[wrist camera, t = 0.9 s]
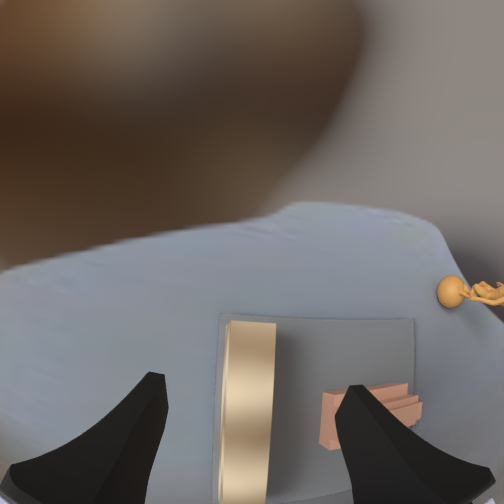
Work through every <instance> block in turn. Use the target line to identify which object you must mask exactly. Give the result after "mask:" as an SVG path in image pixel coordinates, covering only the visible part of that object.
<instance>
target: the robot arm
mask: <svg viewBox="0 0 504 504" xmlns="http://www.w3.org/2000/svg"><path fill="white" fill-rule="evenodd" d="M168 408H169V407H168V399H167V392H166V383H165V375H164V374H159V373H154V372H148V373H147V374H146V375H145V376H144V377H143V378H142V380H141V381H140V382H139V383H138V384H137V385H136V386H135V387H134V389H133V390H132V391H131V392H130V393H129V394H128V395H127V396H126V397H125V398H124V399H123V400H122V401H121V402H120V403H119V404H118V405H117V406H116V407H115V408H114V409H113V410H112V411H110V412H109V413H108V414H107V415H106V416H105V417H104V418H102V419H101V420H100V421H99V422H98V423H96V424H95V425H94V426H92V427H91V428H90V429H88V430H87V431H86V432H84V433H83V434H81V435H80V436H78V437H77V438H75V439H73V440H72V441H70V442H68V443H67V444H65V445H63V446H61V447H59V448H57V449H55V450H53V451H50V452H48V453H46V454H44V455H41V456H39V457H36V458H33V459H30V460H27V461H23V462H20V463H16V464H12V465H11V466H10V467H9V469H8V470H7V472H6V474H5V476H4V478H3V480H2V482H1V485H0V491H1V492H3V493H4V494H5V495H7V496H8V497H9V498H11V499H12V500H13V501H15V502H16V503H17V504H145V497H146V491H147V485H148V480H149V476H150V472H151V469H152V465H153V462H154V459H155V456H156V453H157V450H158V447H159V444H160V441H161V438H162V435H163V432H164V428H165V423H166V419H167V413H168ZM334 417H335V425H336V431H337V437H338V440H339V444H340V447H341V450H342V454H343V457H344V460H345V463H346V467H347V470H348V473H349V476H350V481H351V485H352V492H353V499H354V504H472V502H471V501H473V500H474V499H476V498H477V497H478V496H480V495H481V494H482V493H484V492H485V491H486V490H487V489H489V488H490V487H491V486H492V485H493V484H494V483H495V482H496V480H495V478H494V476H493V474H492V473H491V471H490V469H489V468H487V467H483V466H479V465H475V464H471V463H468V462H466V461H463V460H460V459H458V458H455V457H453V456H451V455H449V454H447V453H445V452H443V451H441V450H439V449H437V448H436V447H434V446H432V445H431V444H429V443H428V442H426V441H425V440H423V439H422V438H420V437H419V436H418V435H416V434H415V433H414V432H413V431H411V430H410V429H409V428H408V427H406V426H405V425H404V424H403V423H402V422H401V421H400V420H398V419H397V418H396V417H395V416H394V415H393V414H392V413H391V412H390V411H389V410H388V409H387V408H386V407H385V406H384V405H383V404H382V403H381V402H380V401H379V400H378V399H377V398H376V397H375V396H374V395H373V394H372V393H371V392H370V391H369V390H368V389H367V388H366V387H365V386H364V385H349V387H348V389H347V392H346V394H345V396H344V398H343V400H342V402H341V404H340V406H339V408H338V410H337V412H336V414H335V416H334ZM0 504H11V503H9V502H8V501H7V500H5V499H4V498H3V497H1V496H0ZM484 504H495V502H494V500H493V498H491V499H489V500H488V501H487V502H485V503H484Z"/></svg>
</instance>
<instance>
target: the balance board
mask: <svg viewBox="0 0 504 504" xmlns="http://www.w3.org/2000/svg"><path fill="white" fill-rule="evenodd" d="M231 320H233V321H246V322H261V323H276V342H275V365H274V386H273V404H272V421H271V436H270V450H269V464H268V476H267V488H266V499H265V504H277V503H286V502H294V501H300V500H306V499H312V498H317V497H322V496H327V495H332V494H336V493H340V492H344V491H348V490H351V489H352V485H351V481H350V476H349V473H348V470H347V467H346V463H345V460H344V457H343V454H342V450H341V447H340V444H339V440H338V437H337V431H336V425H335V417H334V416H335V414H336V412H337V410H338V408H339V406H340V404H341V402H342V400H343V398H344V396H345V394H346V392H347V389H348V387H349V385H364V386H365V387H366V388H367V389H368V390H369V391H370V392H371V393H372V394H373V395H374V396H375V397H376V398H377V399H378V400H379V401H380V402H381V403H382V404H383V405H384V406H385V407H386V408H387V409H388V410H389V411H390V412H391V413H392V414H393V415H394V416H395V417H396V418H397V419H398V420H400V421H401V422H402V423H403V424H404V425H405V426H406V427H408V428H409V429H410V426H411V425H414V424H416V420H418V419H421V413H422V403H423V402H418V396H419V395H413V390H414V365H415V341H414V319H385V320H341V319H305V318H283V317H266V316H251V315H239V314H227V313H220V317H219V331H218V346H217V362H216V380H215V400H214V423H213V452H212V504H219V499H218V491H219V455H220V429H221V406H222V386H223V367H224V350H225V334H226V325H227V324H228V323H229V322H230V321H231Z"/></svg>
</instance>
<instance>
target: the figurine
mask: <svg viewBox="0 0 504 504" xmlns="http://www.w3.org/2000/svg"><path fill="white" fill-rule="evenodd" d="M497 284H498V286H501V287H499V288H497V289H494V288H492V287H491V286H490V285H488V284H486V283H485V282H484V281H482V282H481V283H479V284H475V285H473V287H472V289H471V290H469V289H468V287H467V285H466V284H464V282H463V281H462V279H461V278H459V277H458V276H455V275H449V276H446V277H445V278H443V279H442V280H441V282H440V283H439V285H438V289H437V296H438V299H439V301H440V303H441V304H442V305H443V306H445V307H448V308H453V307H456V306H458V305H459V304H460V303H461V302H462V301H463V299H464V297H466V298H468V299H469V298H471V299H469V300H473V301H480V302H483V303H487V304H490V305H498V304H500V305H502V306H504V285H503V284H502V283H500V282H497ZM467 293H468V294H467ZM476 295H480V297H477V296H476Z"/></svg>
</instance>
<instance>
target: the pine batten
mask: <svg viewBox="0 0 504 504" xmlns="http://www.w3.org/2000/svg"><path fill="white" fill-rule="evenodd" d="M275 342H276V323H261V322H246V321H233V320H231V321H230V322H229V323H228V324H227V325H226V334H225V350H224V367H223V386H222V406H221V429H220V455H219V491H218V499H219V504H265V499H266V488H267V476H268V464H269V450H270V436H271V421H272V404H273V386H274V365H275Z"/></svg>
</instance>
